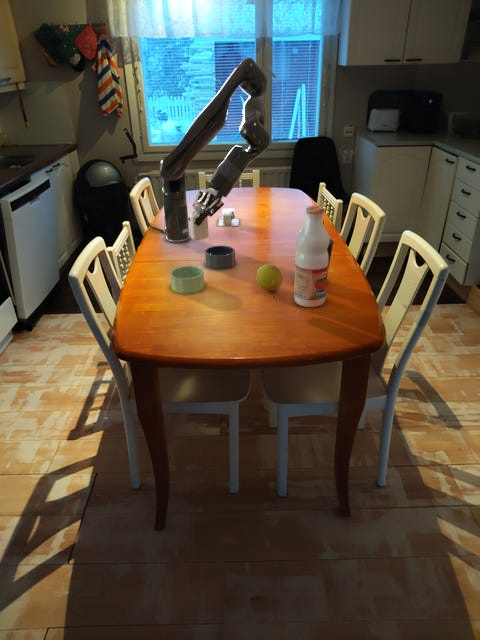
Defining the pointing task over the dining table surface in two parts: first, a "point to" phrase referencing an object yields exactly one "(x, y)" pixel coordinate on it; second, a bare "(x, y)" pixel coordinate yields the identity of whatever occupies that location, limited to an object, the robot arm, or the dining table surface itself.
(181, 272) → the celadon cup
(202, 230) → the eye dropper bottle
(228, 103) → the robot arm
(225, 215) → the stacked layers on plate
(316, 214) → the fruit juice
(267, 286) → the lemon
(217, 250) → the slate cup
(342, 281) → the dining table surface
